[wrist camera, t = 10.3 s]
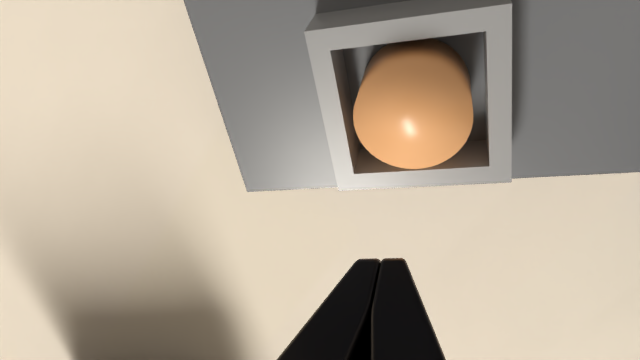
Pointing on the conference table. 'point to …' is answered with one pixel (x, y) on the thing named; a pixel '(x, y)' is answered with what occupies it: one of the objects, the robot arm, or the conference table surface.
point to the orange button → (414, 104)
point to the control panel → (485, 78)
